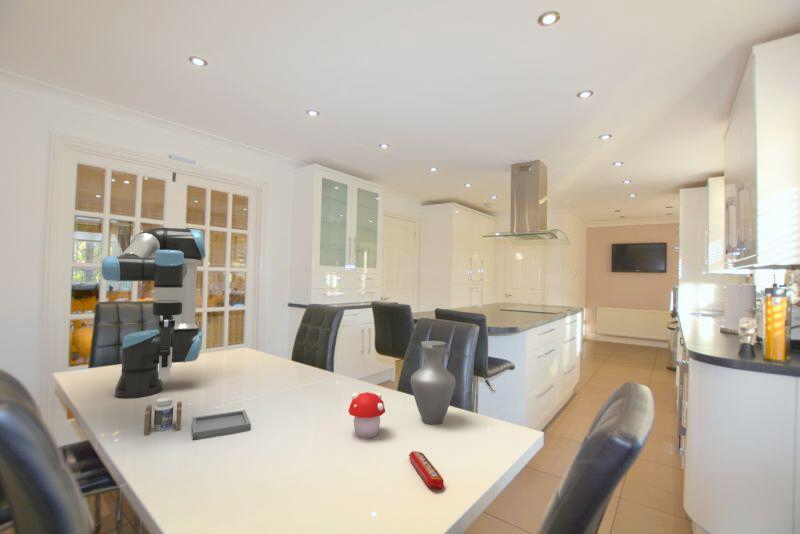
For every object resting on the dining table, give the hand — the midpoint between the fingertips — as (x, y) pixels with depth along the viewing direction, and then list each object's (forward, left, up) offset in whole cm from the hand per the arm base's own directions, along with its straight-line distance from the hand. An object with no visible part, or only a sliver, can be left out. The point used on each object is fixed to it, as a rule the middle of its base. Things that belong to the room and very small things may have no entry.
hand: (165, 373), depth 113 cm
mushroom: (+31, +52, -16) cm, 63 cm away
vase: (+31, +75, -16) cm, 83 cm away
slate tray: (+7, +15, -16) cm, 23 cm away
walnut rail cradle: (0, 0, -16) cm, 16 cm away
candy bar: (+58, +55, -17) cm, 81 cm away
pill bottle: (0, 0, -16) cm, 16 cm away
